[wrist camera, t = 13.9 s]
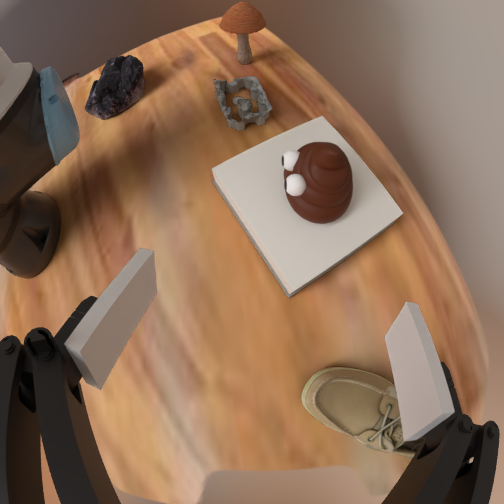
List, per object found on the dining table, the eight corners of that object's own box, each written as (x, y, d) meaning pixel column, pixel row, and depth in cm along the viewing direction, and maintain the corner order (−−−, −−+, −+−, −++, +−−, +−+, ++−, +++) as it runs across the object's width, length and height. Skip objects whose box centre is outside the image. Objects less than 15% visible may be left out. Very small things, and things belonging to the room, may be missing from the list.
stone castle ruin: (213, 94, 42) (211, 77, 38) (254, 85, 42) (254, 69, 38) (227, 135, 39) (225, 118, 35) (274, 125, 40) (275, 108, 36)
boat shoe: (286, 403, 30) (295, 426, 22) (326, 345, 32) (346, 352, 24) (413, 458, 27) (439, 478, 19) (444, 411, 28) (475, 423, 21)
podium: (212, 182, 37) (208, 168, 33) (317, 130, 39) (322, 113, 35) (288, 298, 33) (292, 295, 29) (393, 224, 35) (405, 214, 31)
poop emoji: (353, 225, 31) (385, 192, 22) (283, 228, 31) (294, 191, 22) (339, 155, 34) (360, 110, 25) (276, 155, 34) (282, 105, 25)
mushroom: (241, 79, 43) (237, 12, 28) (216, 63, 44) (207, 2, 30) (273, 64, 44) (276, 2, 29) (247, 49, 45) (245, -9, 31)
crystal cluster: (80, 122, 43) (58, 96, 33) (110, 75, 45) (94, 46, 35) (131, 126, 43) (112, 95, 33) (160, 75, 45) (149, 42, 35)
